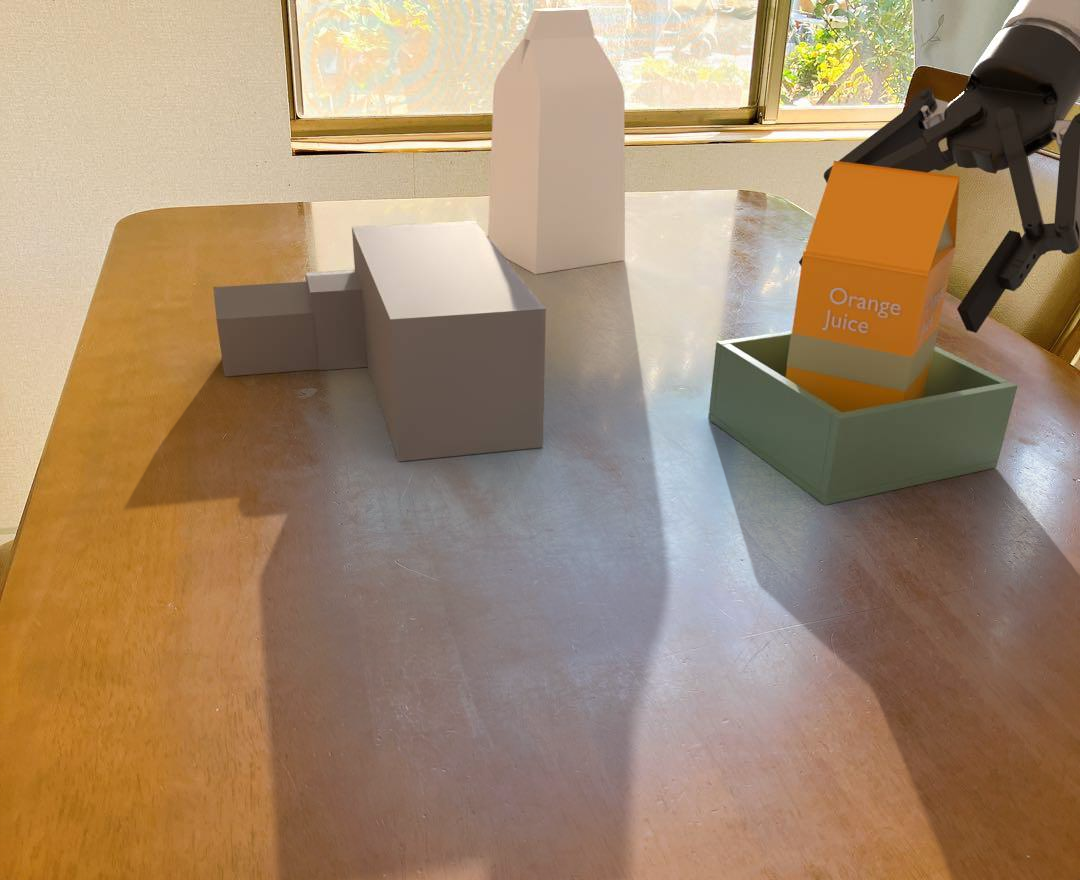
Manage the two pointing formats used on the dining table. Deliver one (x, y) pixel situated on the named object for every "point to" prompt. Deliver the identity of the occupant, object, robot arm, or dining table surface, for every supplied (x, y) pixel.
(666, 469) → the dining table surface
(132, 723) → the dining table surface
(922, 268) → the orange juice
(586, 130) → the milk
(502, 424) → the grey stepped block
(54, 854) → the dining table surface
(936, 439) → the crate
